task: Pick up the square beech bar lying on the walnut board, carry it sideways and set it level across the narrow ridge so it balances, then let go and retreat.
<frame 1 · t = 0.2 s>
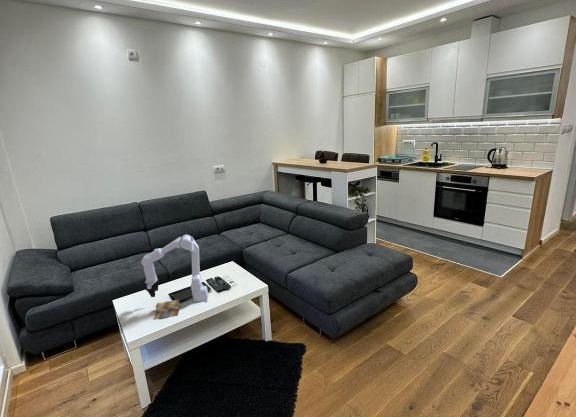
hand: (154, 293, 190), 10 cm above the table, fingers open, 7 cm apart
ridge: (166, 316, 182), resting on board
beech bar: (168, 308, 189), point 1 cm above the table, touching board
board: (167, 313, 185), on the table
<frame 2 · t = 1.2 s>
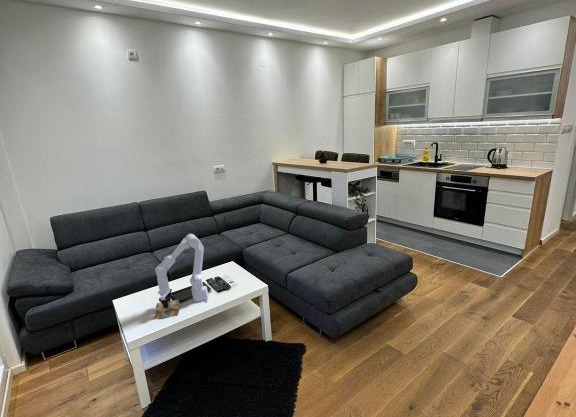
hand: (167, 304, 188), 4 cm above the table, fingers open, 7 cm apart
nothing on the table moved.
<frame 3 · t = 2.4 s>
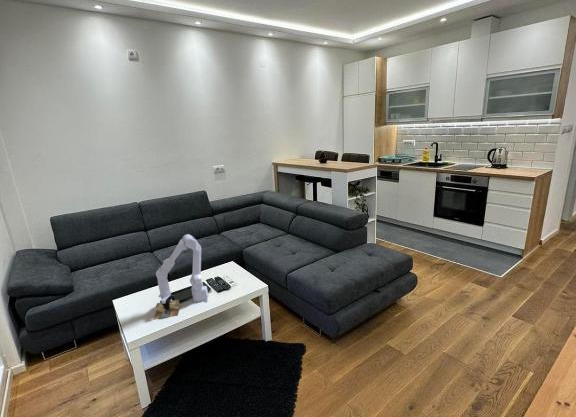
hand: (168, 307, 188), 1 cm above the table, fingers closed on beech bar, 4 cm apart
beech bar: (168, 308, 189), point 1 cm above the table, touching board, gripper
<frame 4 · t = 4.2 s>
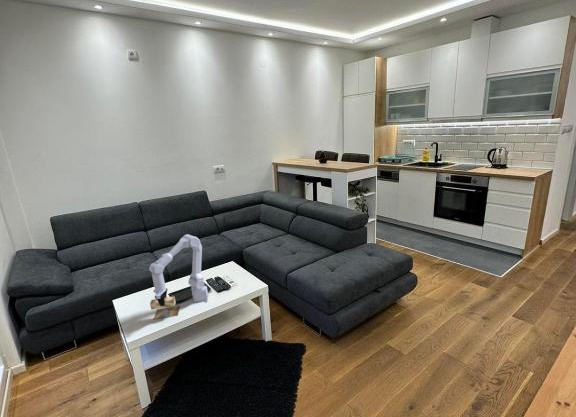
hand: (163, 303, 179), 9 cm above the table, fingers closed on beech bar, 4 cm apart
beech bar: (163, 305, 180), point 7 cm above the table, touching gripper
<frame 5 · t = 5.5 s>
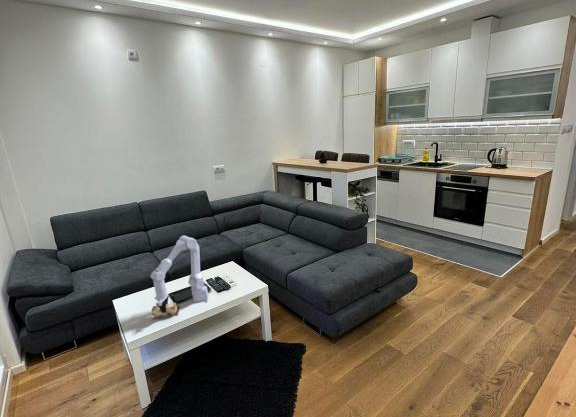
hand: (164, 310, 180), 4 cm above the table, fingers closed on beech bar, 4 cm apart
beech bar: (165, 312, 181), point 3 cm above the table, touching gripper, ridge
when the fingers open (4 cm above the table, at t = 6.0 s): beech bar stays where it is, resting on ridge.
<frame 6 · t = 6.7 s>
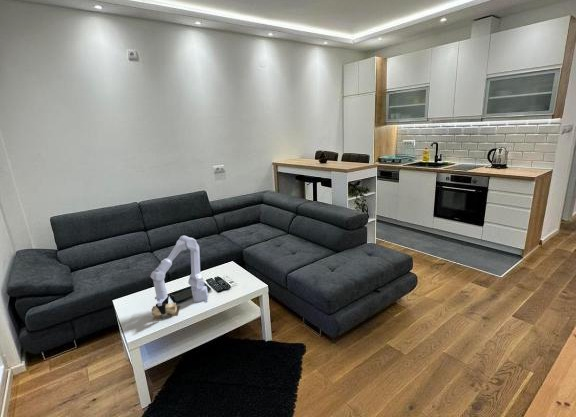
hand: (164, 310, 180), 4 cm above the table, fingers open, 7 cm apart
beech bar: (165, 312, 181), point 3 cm above the table, touching ridge
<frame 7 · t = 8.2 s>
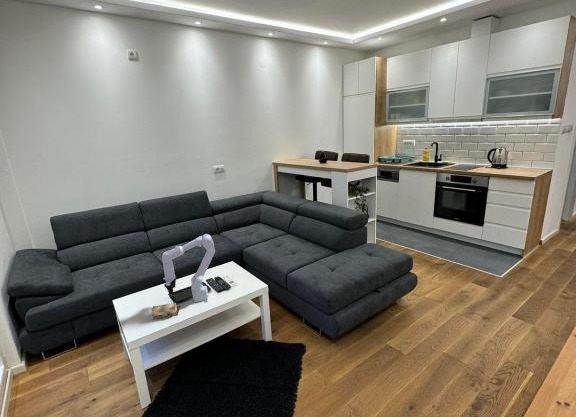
hand: (172, 290, 190), 10 cm above the table, fingers open, 7 cm apart
nothing on the table moved.
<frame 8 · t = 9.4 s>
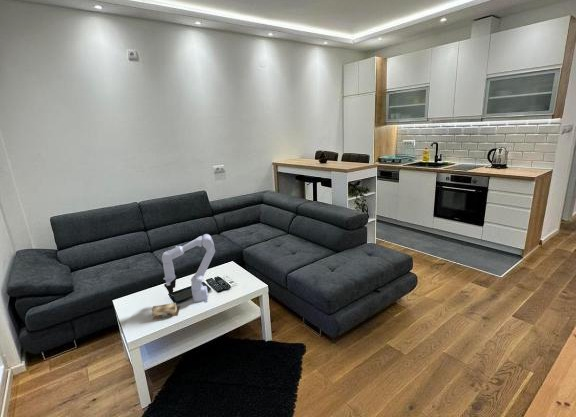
hand: (172, 290, 190), 10 cm above the table, fingers open, 7 cm apart
nothing on the table moved.
at the end: beech bar 0.1 cm off-centre on the ridge, point 3.0 cm above the ridge's base; beech bar tilted 0°; beech bar touching ridge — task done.
